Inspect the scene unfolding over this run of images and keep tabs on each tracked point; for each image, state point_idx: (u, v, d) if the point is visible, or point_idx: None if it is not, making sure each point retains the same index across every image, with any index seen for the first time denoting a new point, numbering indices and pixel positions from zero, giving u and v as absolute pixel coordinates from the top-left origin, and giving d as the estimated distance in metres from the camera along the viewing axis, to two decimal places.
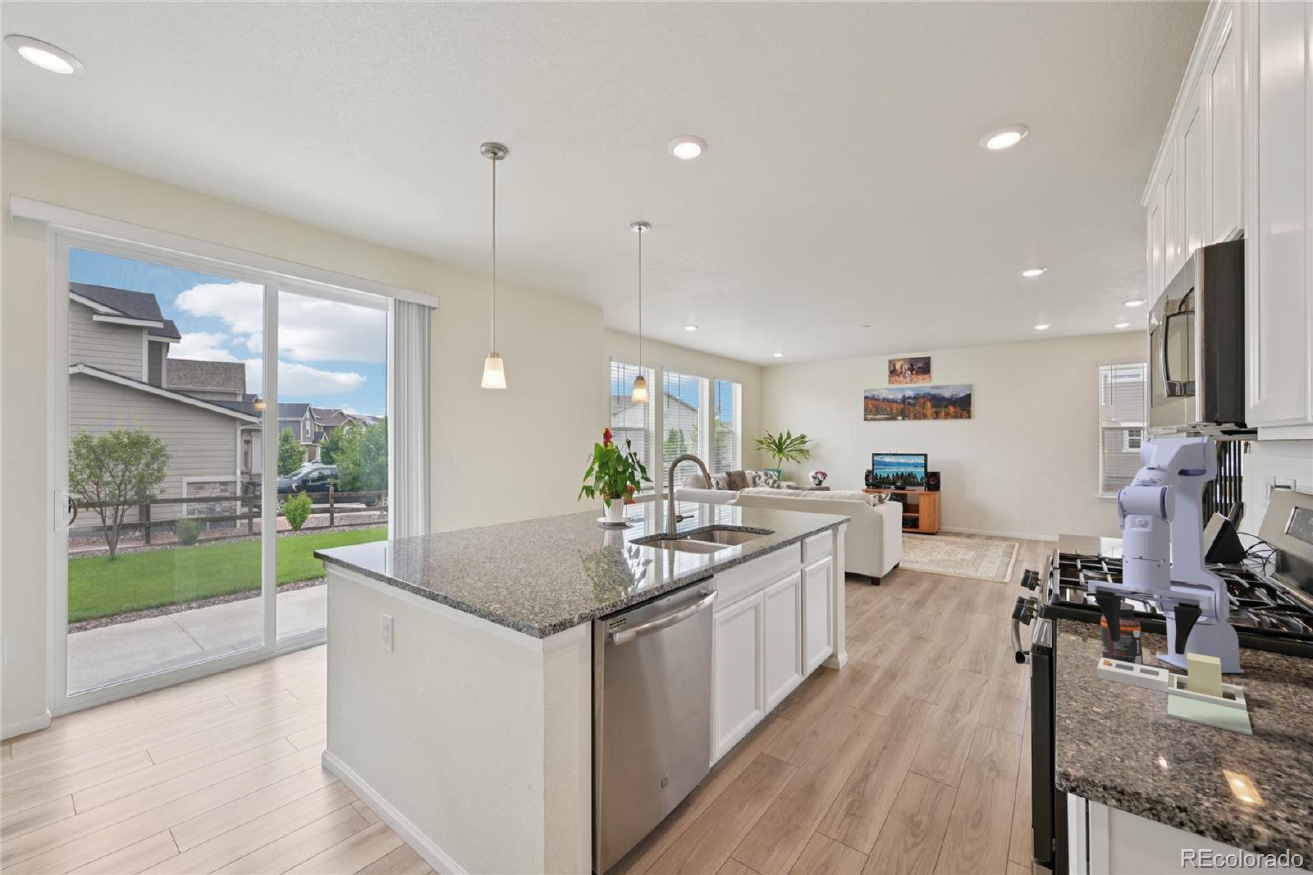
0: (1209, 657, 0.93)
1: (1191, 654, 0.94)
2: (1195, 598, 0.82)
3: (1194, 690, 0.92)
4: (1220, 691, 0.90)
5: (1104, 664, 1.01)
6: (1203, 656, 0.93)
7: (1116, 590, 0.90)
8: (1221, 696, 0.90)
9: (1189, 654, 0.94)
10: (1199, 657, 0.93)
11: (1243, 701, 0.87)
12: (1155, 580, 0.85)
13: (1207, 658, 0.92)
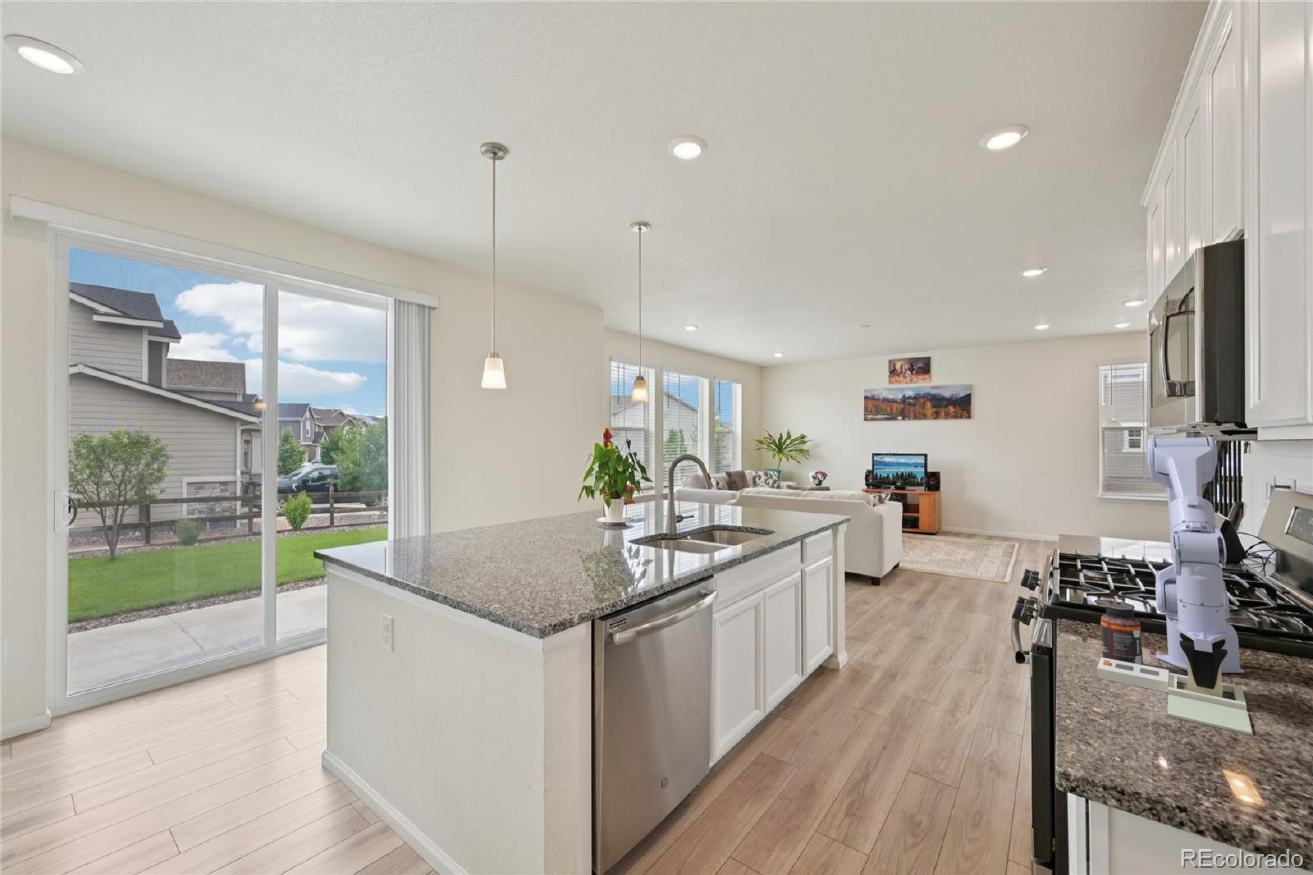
0: None
1: None
2: None
3: (1194, 690, 0.92)
4: (1220, 691, 0.90)
5: (1104, 664, 1.01)
6: None
7: None
8: (1221, 696, 0.90)
9: None
10: None
11: (1243, 701, 0.87)
12: None
13: None
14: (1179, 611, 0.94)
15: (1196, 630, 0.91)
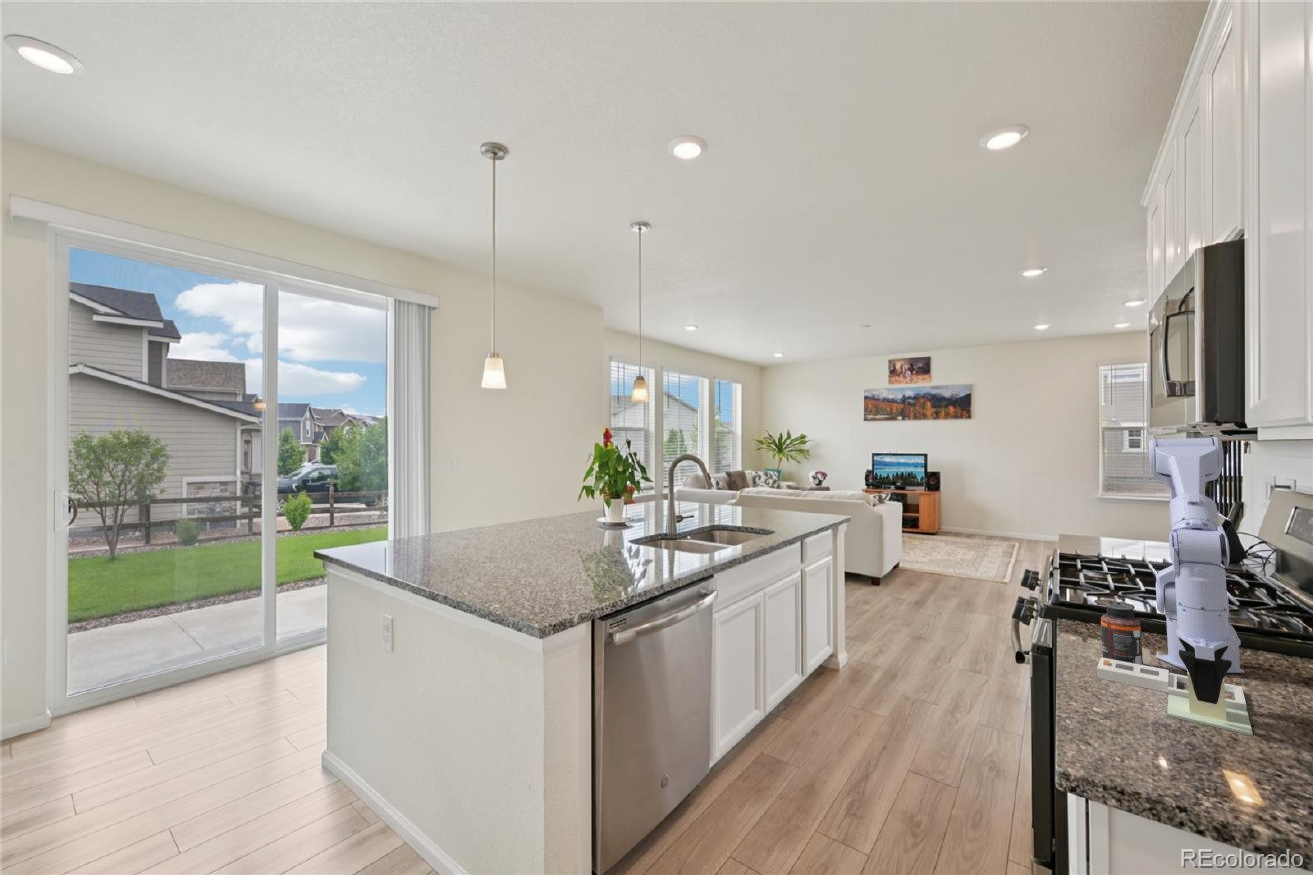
0: None
1: None
2: None
3: (1195, 708, 0.85)
4: (1223, 709, 0.82)
5: (1104, 664, 1.01)
6: None
7: None
8: (1224, 715, 0.82)
9: None
10: None
11: (1243, 701, 0.87)
12: None
13: None
14: (1178, 615, 0.87)
15: (1197, 636, 0.84)
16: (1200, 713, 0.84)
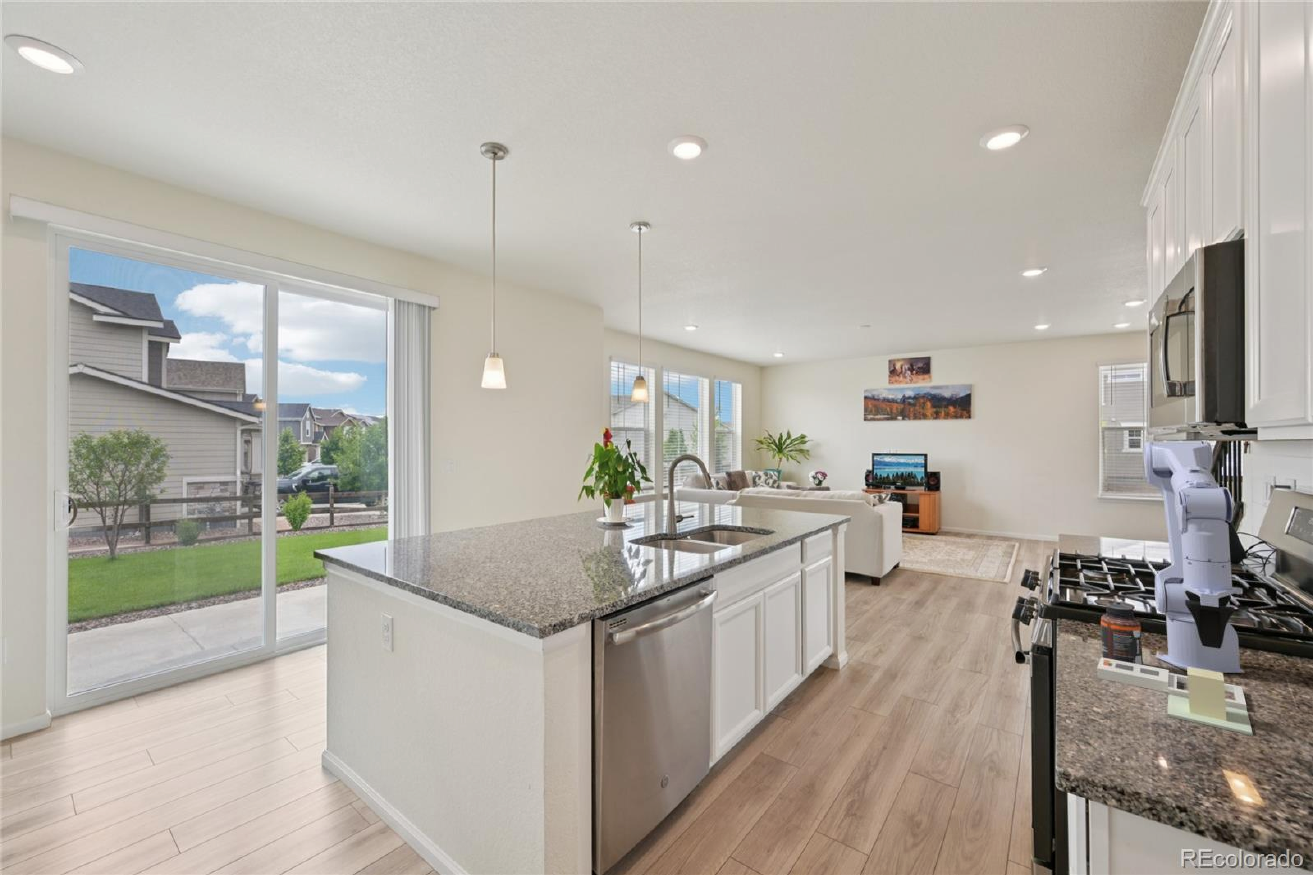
0: (1211, 672, 0.86)
1: (1192, 668, 0.87)
2: None
3: (1195, 708, 0.85)
4: (1223, 709, 0.82)
5: (1104, 664, 1.01)
6: (1204, 671, 0.86)
7: None
8: (1224, 715, 0.82)
9: (1189, 669, 0.87)
10: (1200, 672, 0.85)
11: (1243, 701, 0.87)
12: None
13: (1209, 673, 0.85)
14: (1184, 569, 0.93)
15: (1202, 587, 0.90)
16: (1200, 713, 0.84)
